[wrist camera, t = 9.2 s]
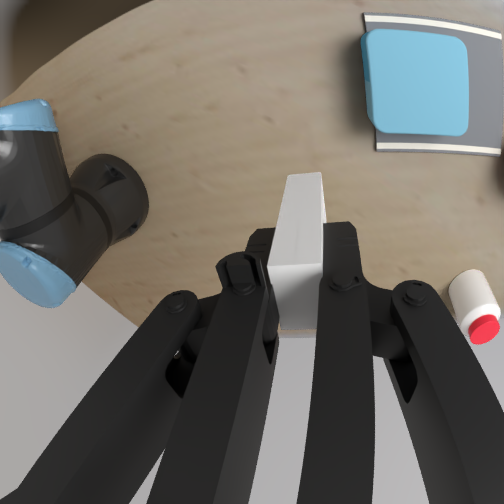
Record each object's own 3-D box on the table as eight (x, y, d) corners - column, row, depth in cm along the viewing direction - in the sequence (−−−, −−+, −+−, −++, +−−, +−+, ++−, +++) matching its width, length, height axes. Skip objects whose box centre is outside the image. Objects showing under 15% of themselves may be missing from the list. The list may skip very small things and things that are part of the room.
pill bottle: (472, 261, 42) (494, 309, 34) (491, 282, 44) (511, 328, 35) (440, 289, 47) (455, 338, 38) (461, 307, 48) (476, 354, 40)
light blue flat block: (367, 124, 34) (454, 128, 31) (373, 133, 31) (468, 138, 28) (358, 30, 28) (451, 38, 25) (363, 28, 24) (466, 38, 21)
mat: (376, 150, 36) (377, 151, 36) (363, 12, 26) (364, 12, 26) (498, 155, 32) (500, 156, 31) (498, 31, 21) (500, 31, 21)
